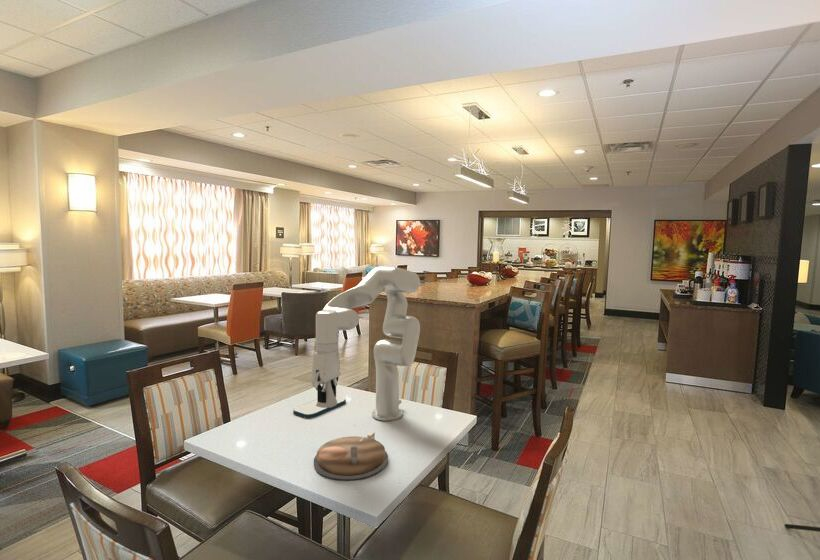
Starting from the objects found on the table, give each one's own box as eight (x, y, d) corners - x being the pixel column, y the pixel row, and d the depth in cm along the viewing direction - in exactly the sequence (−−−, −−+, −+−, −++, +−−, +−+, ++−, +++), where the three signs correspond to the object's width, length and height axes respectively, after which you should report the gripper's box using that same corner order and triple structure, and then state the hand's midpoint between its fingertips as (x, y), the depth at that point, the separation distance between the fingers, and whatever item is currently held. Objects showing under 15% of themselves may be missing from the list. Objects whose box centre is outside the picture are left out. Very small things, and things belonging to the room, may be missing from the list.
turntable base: (344, 436, 159) (344, 425, 158) (403, 449, 149) (403, 438, 148) (297, 470, 134) (297, 457, 134) (364, 488, 125) (364, 475, 124)
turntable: (315, 445, 148) (315, 425, 148) (378, 439, 154) (379, 420, 153) (317, 479, 127) (317, 456, 127) (391, 470, 132) (391, 448, 132)
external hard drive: (309, 420, 174) (309, 415, 173) (289, 414, 180) (289, 409, 180) (348, 403, 193) (348, 398, 193) (330, 397, 200) (330, 393, 199)
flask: (332, 409, 143) (332, 380, 142) (312, 407, 145) (312, 378, 144) (340, 402, 150) (340, 374, 149) (321, 400, 152) (321, 372, 151)
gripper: (332, 341, 155) (332, 390, 156) (301, 351, 140) (301, 405, 141) (350, 343, 152) (350, 394, 153) (320, 353, 137) (320, 409, 138)
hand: (326, 399), depth 147 cm, fingers closed on flask, 4 cm apart
